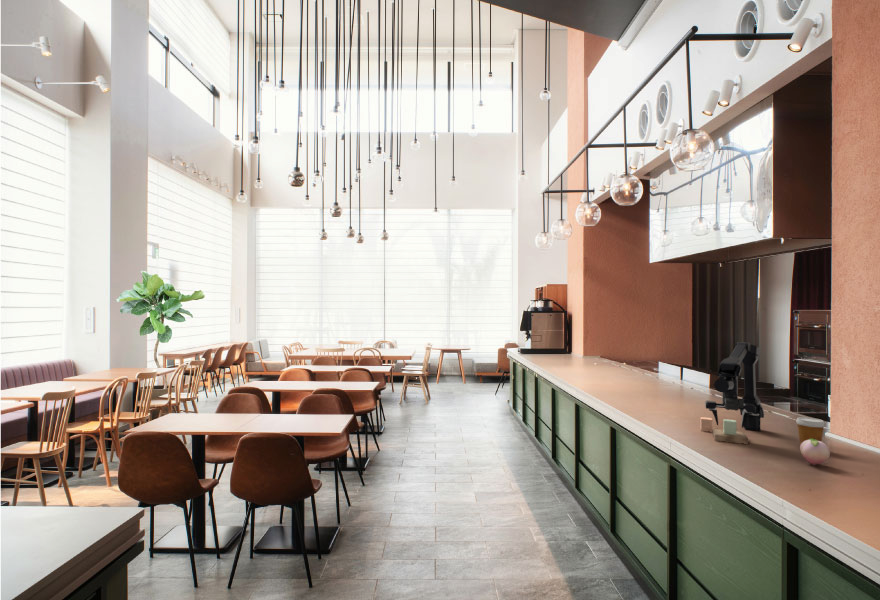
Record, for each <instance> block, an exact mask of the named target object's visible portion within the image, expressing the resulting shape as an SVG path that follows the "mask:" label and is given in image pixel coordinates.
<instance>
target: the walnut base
mask: <svg viewBox="0 0 880 600" xmlns="http://www.w3.org/2000/svg"><path fill="white" fill-rule="evenodd" d="M713 436H714V437H713ZM712 437H713V438H714V441H715V442H722V441H726V442H725V443H732V442H735V443H734V444H741V443H744V444H743V445H748V444H749V437H748V436H747V435H746V433H745V432H744V431H738V430H736V435H730V434H724V432H723V429H716V428H712Z"/></svg>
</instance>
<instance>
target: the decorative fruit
mask: <svg viewBox="0 0 880 600" xmlns="http://www.w3.org/2000/svg"><path fill="white" fill-rule="evenodd" d="M799 449H800V450H799V451H800V452H801V455H802V456H803V458H804V459H805V460H806V461H807V462H809V464H811V465H813V466H815V465H818V464H823V463H824V462H826V461H827V460H829V457H830V455H831V453H830V452H831V451H830V448H829V447H828V446H827V444H825V443H824V442H823V441H821V442H820V441H817V440H816V439H815V437H814V439H809V440H806V441H804V442H803V443H802V444H801V446H799Z"/></svg>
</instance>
